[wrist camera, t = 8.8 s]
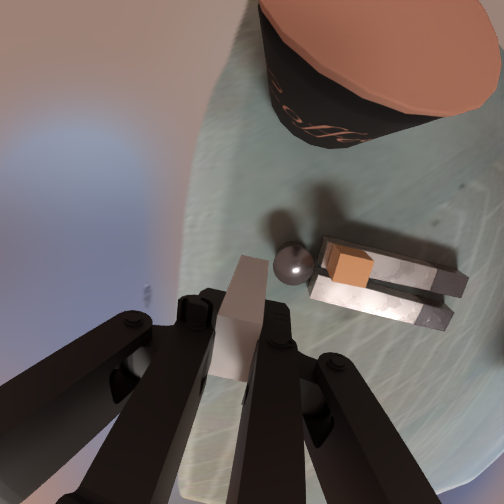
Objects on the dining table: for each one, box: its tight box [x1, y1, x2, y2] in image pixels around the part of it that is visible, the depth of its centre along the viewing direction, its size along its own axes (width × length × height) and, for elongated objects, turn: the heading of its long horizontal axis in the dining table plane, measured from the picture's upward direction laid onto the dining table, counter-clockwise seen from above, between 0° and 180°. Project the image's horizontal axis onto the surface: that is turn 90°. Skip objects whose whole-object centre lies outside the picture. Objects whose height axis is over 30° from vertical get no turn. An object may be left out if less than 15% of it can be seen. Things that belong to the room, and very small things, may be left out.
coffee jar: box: [258, 0, 501, 149], centre depth 14 cm, size 11×11×18 cm
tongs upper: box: [308, 266, 454, 331], centre depth 26 cm, size 18×2×2 cm, turn 75°
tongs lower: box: [273, 236, 469, 298], centre depth 25 cm, size 22×5×3 cm, turn 79°
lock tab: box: [327, 244, 374, 288], centre depth 23 cm, size 3×2×3 cm
